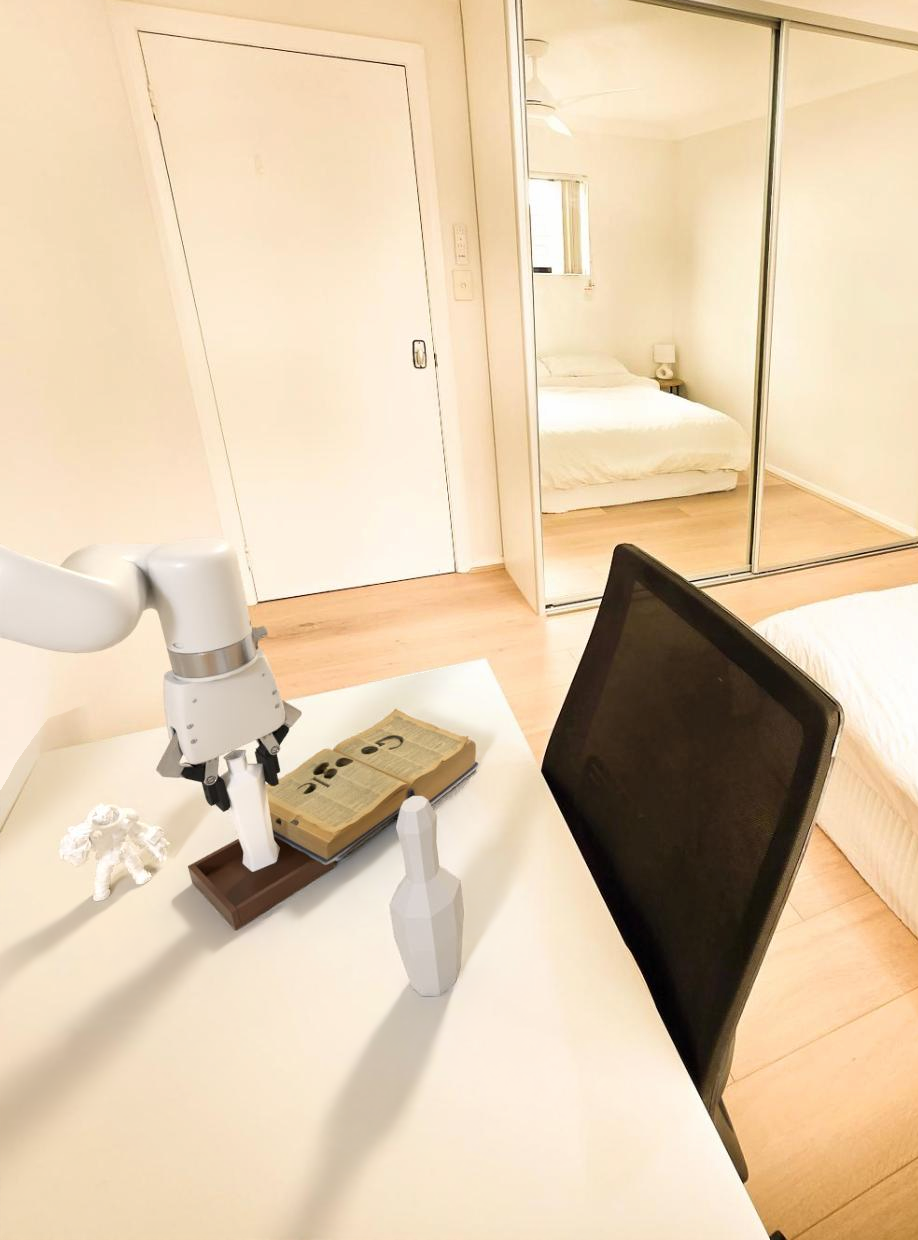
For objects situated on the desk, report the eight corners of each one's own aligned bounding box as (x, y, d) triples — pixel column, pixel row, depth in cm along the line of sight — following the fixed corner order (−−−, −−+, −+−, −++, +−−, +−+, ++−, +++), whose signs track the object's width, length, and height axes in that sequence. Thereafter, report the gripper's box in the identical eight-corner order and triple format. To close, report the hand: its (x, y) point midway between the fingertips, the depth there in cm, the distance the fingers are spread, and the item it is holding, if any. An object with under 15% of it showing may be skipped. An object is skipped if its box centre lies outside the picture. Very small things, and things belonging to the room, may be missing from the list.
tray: (235, 931, 76) (231, 913, 75) (192, 883, 82) (187, 866, 81) (335, 867, 85) (332, 850, 84) (289, 828, 91) (285, 812, 90)
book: (401, 735, 110) (397, 703, 108) (480, 767, 103) (477, 733, 101) (244, 835, 89) (236, 797, 87) (330, 883, 82) (323, 843, 80)
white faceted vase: (243, 849, 84) (215, 747, 78) (284, 840, 85) (259, 739, 80) (234, 878, 80) (204, 772, 74) (277, 868, 81) (251, 763, 76)
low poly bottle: (480, 958, 74) (463, 789, 67) (443, 1013, 68) (421, 835, 61) (429, 942, 75) (408, 775, 68) (389, 994, 70) (361, 818, 62)
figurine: (101, 924, 76) (72, 838, 72) (60, 919, 77) (29, 833, 73) (178, 855, 86) (156, 775, 82) (141, 850, 86) (117, 771, 82)
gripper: (279, 616, 82) (303, 745, 88) (102, 674, 69) (145, 821, 75) (312, 634, 78) (335, 768, 84) (131, 698, 65) (174, 852, 71)
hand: (245, 791), depth 79 cm, fingers closed on white faceted vase, 4 cm apart
